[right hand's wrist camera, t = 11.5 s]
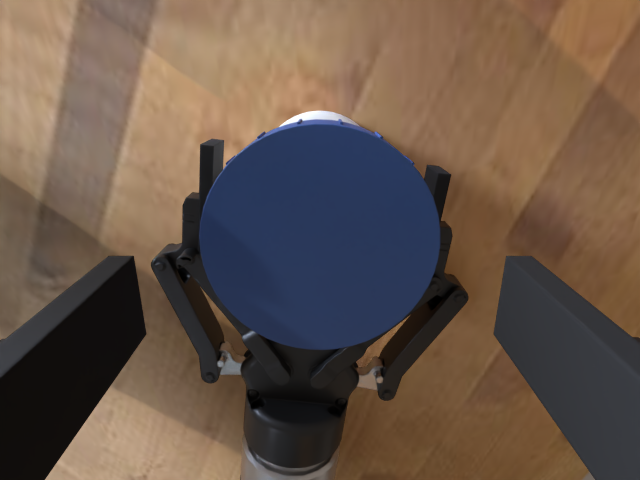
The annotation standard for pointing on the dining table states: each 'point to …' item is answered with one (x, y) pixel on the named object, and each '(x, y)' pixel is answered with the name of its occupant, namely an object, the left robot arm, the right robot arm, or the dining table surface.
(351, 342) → the lid
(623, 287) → the dining table surface
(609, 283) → the dining table surface
